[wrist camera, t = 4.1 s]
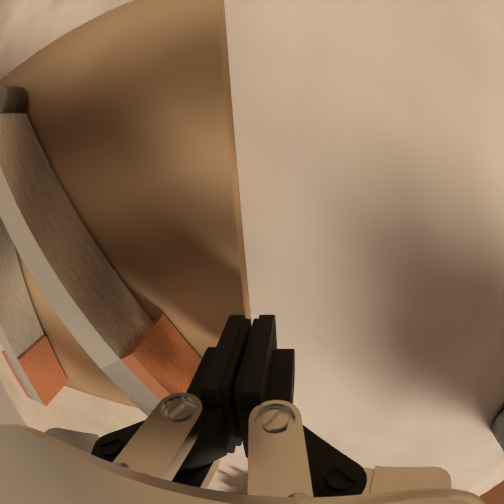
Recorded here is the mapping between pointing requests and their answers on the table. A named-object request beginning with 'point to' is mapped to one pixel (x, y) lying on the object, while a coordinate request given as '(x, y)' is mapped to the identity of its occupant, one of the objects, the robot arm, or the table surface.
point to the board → (144, 166)
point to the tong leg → (82, 271)
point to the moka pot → (499, 429)
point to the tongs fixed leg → (24, 331)
